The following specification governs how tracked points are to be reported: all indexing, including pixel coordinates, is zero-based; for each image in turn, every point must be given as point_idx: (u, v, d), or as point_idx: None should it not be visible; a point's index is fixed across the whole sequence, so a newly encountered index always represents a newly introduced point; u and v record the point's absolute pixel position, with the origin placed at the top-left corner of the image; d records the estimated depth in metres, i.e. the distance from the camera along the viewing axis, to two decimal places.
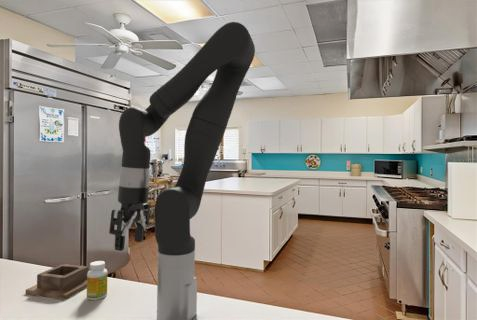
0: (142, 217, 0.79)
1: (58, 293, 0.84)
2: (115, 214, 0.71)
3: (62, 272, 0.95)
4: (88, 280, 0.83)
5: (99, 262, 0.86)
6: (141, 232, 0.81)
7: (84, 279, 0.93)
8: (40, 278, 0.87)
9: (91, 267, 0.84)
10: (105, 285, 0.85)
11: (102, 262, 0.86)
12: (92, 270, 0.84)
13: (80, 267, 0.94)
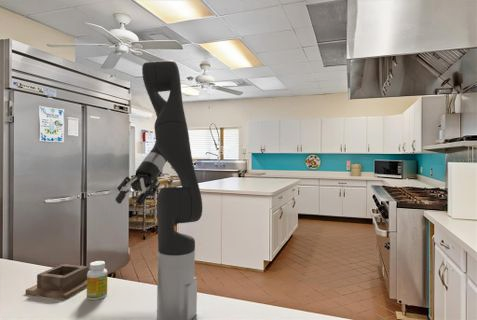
0: (142, 183, 0.99)
1: (58, 293, 0.84)
2: None
3: (62, 272, 0.95)
4: (88, 280, 0.83)
5: (99, 262, 0.86)
6: None
7: (84, 279, 0.93)
8: (40, 278, 0.87)
9: (91, 267, 0.84)
10: (105, 285, 0.85)
11: (102, 262, 0.86)
12: (92, 270, 0.84)
13: (80, 267, 0.94)
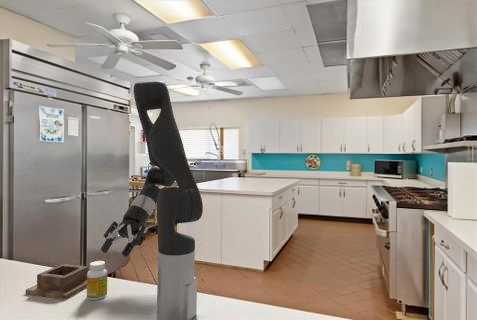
0: (129, 231, 0.94)
1: (58, 293, 0.84)
2: None
3: (62, 272, 0.95)
4: (88, 280, 0.83)
5: (99, 262, 0.86)
6: None
7: (84, 279, 0.93)
8: (40, 278, 0.87)
9: (91, 267, 0.84)
10: (105, 285, 0.85)
11: (102, 262, 0.86)
12: (92, 270, 0.84)
13: (80, 267, 0.94)
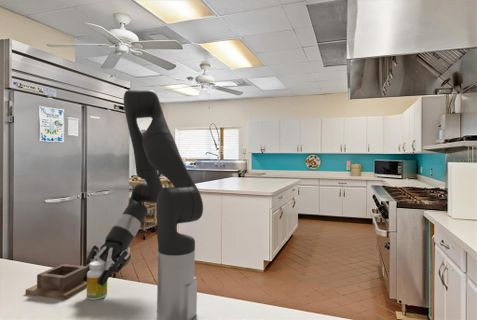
0: (109, 255, 0.87)
1: (58, 293, 0.84)
2: None
3: (62, 272, 0.95)
4: (88, 280, 0.83)
5: (99, 262, 0.86)
6: None
7: None
8: (40, 278, 0.87)
9: (91, 267, 0.84)
10: (105, 285, 0.85)
11: (102, 262, 0.86)
12: (92, 270, 0.84)
13: (80, 267, 0.94)
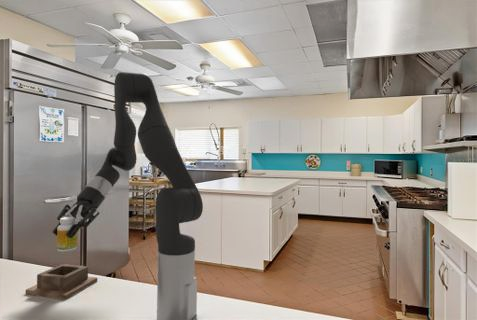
0: (79, 212, 0.93)
1: (58, 293, 0.84)
2: None
3: (62, 272, 0.95)
4: (58, 233, 0.89)
5: (69, 217, 0.92)
6: None
7: (84, 279, 0.93)
8: (40, 278, 0.87)
9: (61, 221, 0.89)
10: (74, 238, 0.91)
11: (72, 217, 0.92)
12: (62, 224, 0.89)
13: (80, 267, 0.94)
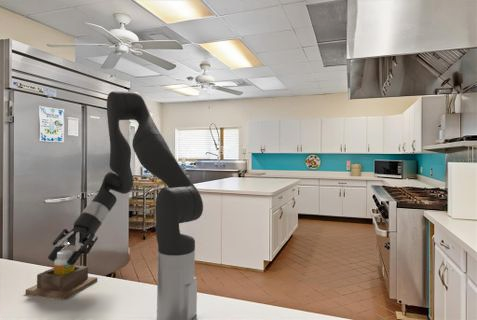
0: (77, 239, 0.92)
1: (58, 293, 0.84)
2: None
3: None
4: (55, 268, 0.89)
5: (66, 251, 0.92)
6: None
7: (84, 279, 0.93)
8: (40, 278, 0.87)
9: (58, 255, 0.89)
10: None
11: (69, 251, 0.92)
12: (59, 258, 0.89)
13: (80, 267, 0.94)
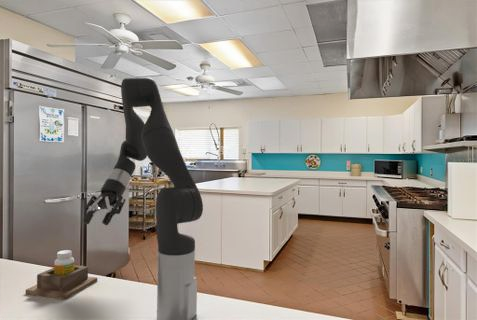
0: (107, 202, 1.01)
1: (58, 293, 0.84)
2: None
3: None
4: (55, 268, 0.89)
5: (66, 251, 0.92)
6: None
7: (84, 279, 0.93)
8: (40, 278, 0.87)
9: (58, 255, 0.89)
10: None
11: (69, 251, 0.92)
12: (59, 258, 0.89)
13: (80, 267, 0.94)
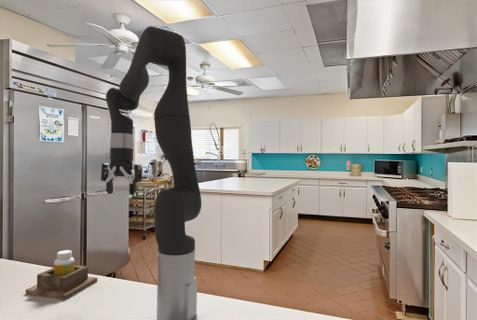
0: (124, 173, 0.99)
1: (58, 293, 0.84)
2: None
3: None
4: (55, 268, 0.89)
5: (66, 251, 0.92)
6: None
7: (84, 279, 0.93)
8: (40, 278, 0.87)
9: (58, 255, 0.89)
10: None
11: (69, 251, 0.92)
12: (59, 258, 0.89)
13: (80, 267, 0.94)
